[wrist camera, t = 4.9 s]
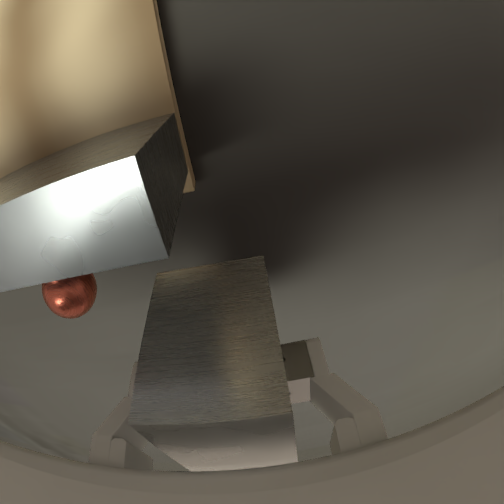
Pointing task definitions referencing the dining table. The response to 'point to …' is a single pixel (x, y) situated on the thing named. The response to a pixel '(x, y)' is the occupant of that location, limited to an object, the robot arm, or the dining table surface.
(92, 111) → the vise board
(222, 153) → the dining table surface
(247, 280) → the block
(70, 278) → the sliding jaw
